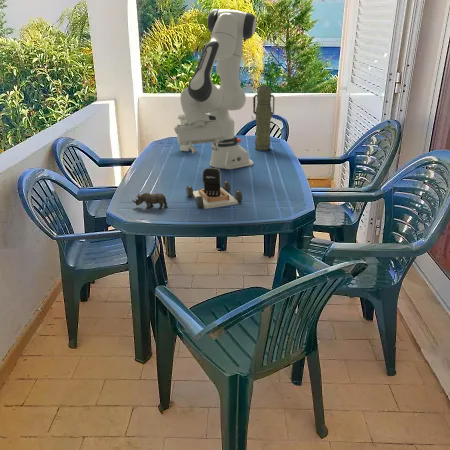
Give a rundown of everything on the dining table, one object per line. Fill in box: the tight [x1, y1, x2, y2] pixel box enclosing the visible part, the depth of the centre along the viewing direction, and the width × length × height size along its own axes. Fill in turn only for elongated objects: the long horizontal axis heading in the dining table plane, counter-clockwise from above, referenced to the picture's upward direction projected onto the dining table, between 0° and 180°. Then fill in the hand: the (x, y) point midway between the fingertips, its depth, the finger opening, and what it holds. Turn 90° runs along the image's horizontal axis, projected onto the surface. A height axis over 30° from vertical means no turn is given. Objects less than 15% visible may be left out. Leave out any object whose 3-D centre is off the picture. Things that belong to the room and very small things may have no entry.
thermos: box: [252, 85, 276, 151], centre depth 248 cm, size 9×12×35 cm
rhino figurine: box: [131, 192, 168, 210], centre depth 170 cm, size 4×14×6 cm, turn 83°
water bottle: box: [177, 114, 194, 152], centre depth 250 cm, size 8×8×25 cm
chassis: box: [185, 180, 243, 210], centre depth 179 cm, size 18×18×4 cm
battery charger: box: [202, 167, 222, 197], centre depth 177 cm, size 7×4×11 cm, turn 79°
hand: (205, 151), depth 180 cm, fingers open, 8 cm apart
